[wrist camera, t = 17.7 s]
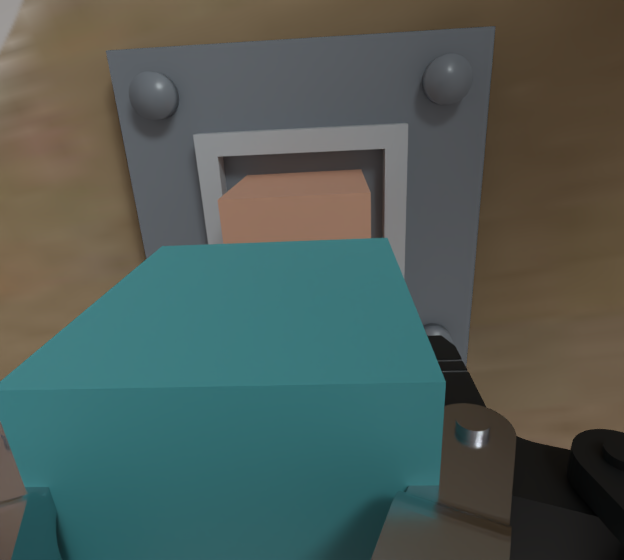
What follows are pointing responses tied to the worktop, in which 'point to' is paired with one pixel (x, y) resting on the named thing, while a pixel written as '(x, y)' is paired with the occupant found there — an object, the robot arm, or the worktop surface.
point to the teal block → (233, 406)
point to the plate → (321, 141)
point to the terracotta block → (297, 207)
